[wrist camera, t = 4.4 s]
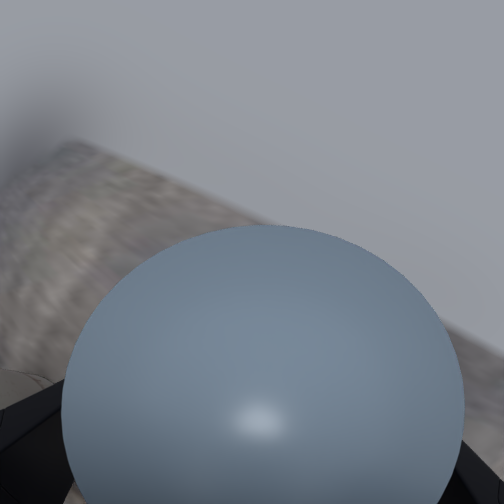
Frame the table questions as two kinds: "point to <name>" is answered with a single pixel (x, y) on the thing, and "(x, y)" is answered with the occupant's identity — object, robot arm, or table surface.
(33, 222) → the table surface
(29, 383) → the thermos bottle
